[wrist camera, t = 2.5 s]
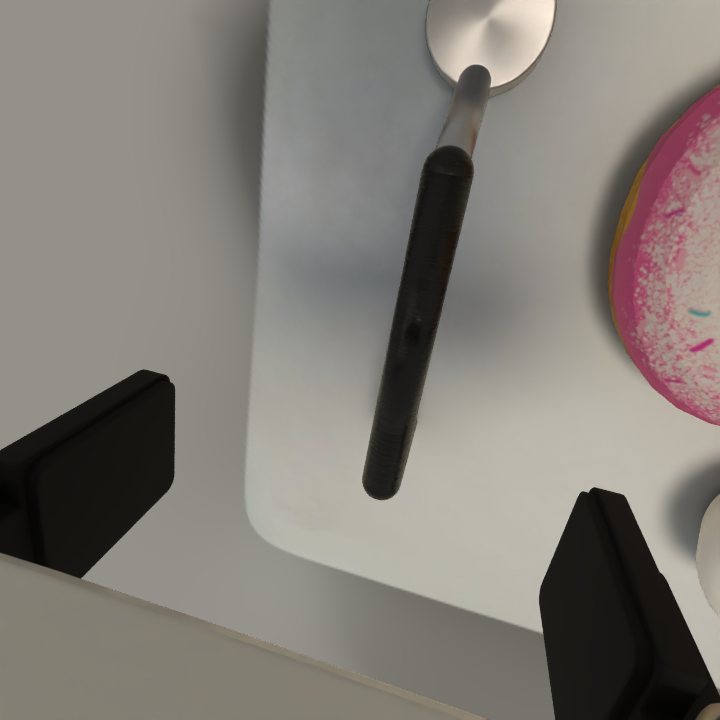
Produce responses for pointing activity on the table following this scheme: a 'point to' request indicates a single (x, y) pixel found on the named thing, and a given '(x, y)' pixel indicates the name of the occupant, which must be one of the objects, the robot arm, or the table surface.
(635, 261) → the donut
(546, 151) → the table surface
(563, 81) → the table surface
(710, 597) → the apple
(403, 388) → the ladle
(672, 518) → the table surface
